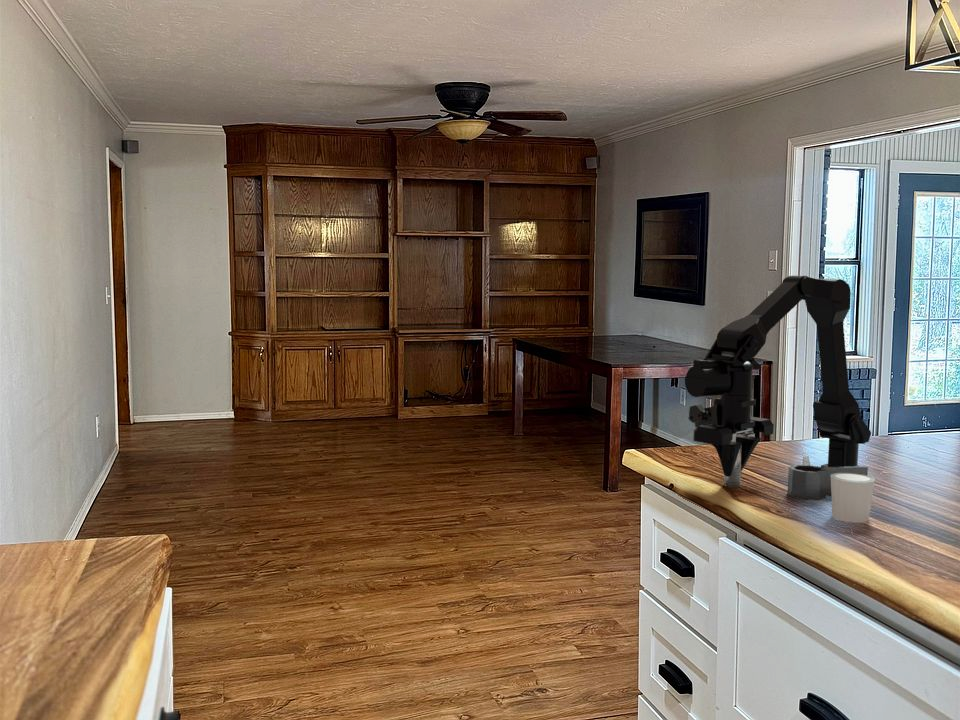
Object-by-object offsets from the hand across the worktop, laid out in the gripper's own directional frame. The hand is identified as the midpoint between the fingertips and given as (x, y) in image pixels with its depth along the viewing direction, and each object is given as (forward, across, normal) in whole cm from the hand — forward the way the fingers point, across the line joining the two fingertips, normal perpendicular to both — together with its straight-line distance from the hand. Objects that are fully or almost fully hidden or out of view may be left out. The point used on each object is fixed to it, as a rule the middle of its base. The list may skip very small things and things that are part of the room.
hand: (732, 474), depth 167 cm
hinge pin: (+2, 0, 0) cm, 2 cm away
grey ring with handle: (+2, -8, +13) cm, 15 cm away
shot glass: (+2, +4, +25) cm, 25 cm away
